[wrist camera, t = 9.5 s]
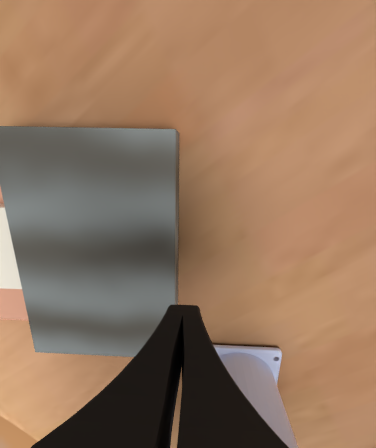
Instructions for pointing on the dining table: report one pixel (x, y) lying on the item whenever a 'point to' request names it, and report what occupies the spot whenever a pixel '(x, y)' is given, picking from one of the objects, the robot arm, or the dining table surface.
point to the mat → (12, 300)
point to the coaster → (7, 256)
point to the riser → (93, 233)
